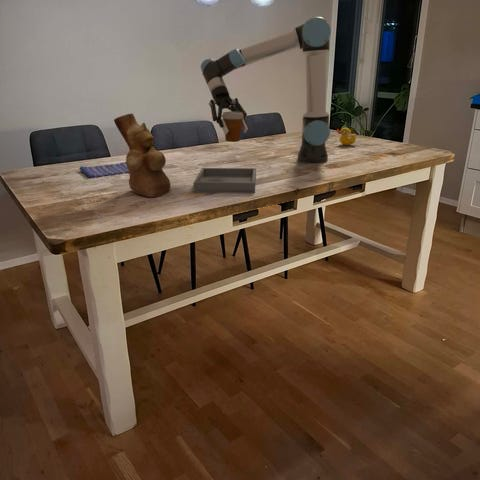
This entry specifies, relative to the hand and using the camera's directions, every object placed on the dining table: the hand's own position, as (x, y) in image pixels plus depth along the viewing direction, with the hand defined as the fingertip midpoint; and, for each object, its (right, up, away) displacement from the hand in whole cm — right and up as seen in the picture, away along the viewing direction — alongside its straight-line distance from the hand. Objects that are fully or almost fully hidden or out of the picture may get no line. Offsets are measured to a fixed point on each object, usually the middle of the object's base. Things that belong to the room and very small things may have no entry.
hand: (236, 131), depth 199 cm
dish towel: (-60, -16, +15) cm, 64 cm away
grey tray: (-4, -24, -8) cm, 25 cm away
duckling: (+64, +8, +68) cm, 94 cm away
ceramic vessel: (-37, -28, -16) cm, 49 cm away
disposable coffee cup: (-2, -3, +4) cm, 5 cm away
